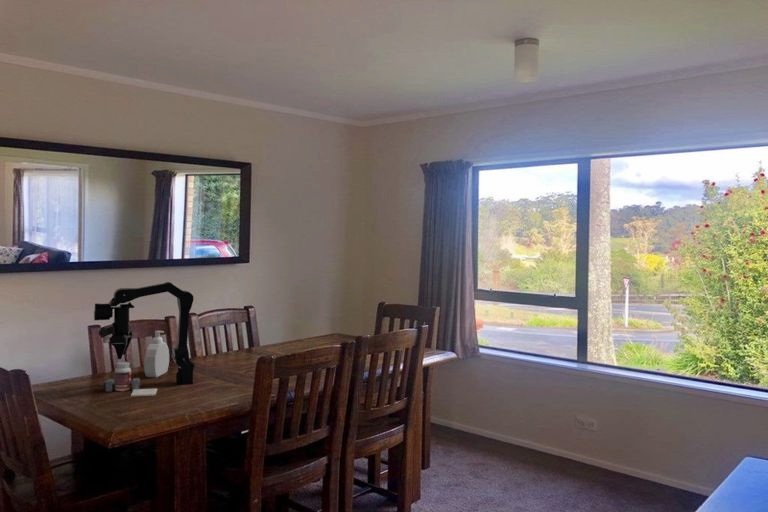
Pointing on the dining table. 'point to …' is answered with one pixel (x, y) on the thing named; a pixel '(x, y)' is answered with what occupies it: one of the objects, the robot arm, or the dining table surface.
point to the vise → (111, 385)
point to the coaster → (144, 392)
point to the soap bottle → (156, 357)
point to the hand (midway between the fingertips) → (121, 356)
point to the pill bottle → (123, 376)
